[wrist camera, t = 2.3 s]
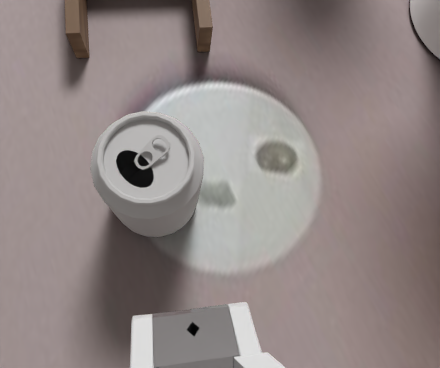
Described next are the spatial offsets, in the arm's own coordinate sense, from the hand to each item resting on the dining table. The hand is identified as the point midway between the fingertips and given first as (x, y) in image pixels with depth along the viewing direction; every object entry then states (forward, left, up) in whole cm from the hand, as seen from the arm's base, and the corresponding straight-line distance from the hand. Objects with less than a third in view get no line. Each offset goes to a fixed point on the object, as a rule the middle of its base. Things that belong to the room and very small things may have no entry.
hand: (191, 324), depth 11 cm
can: (+1, -9, -26) cm, 27 cm away
